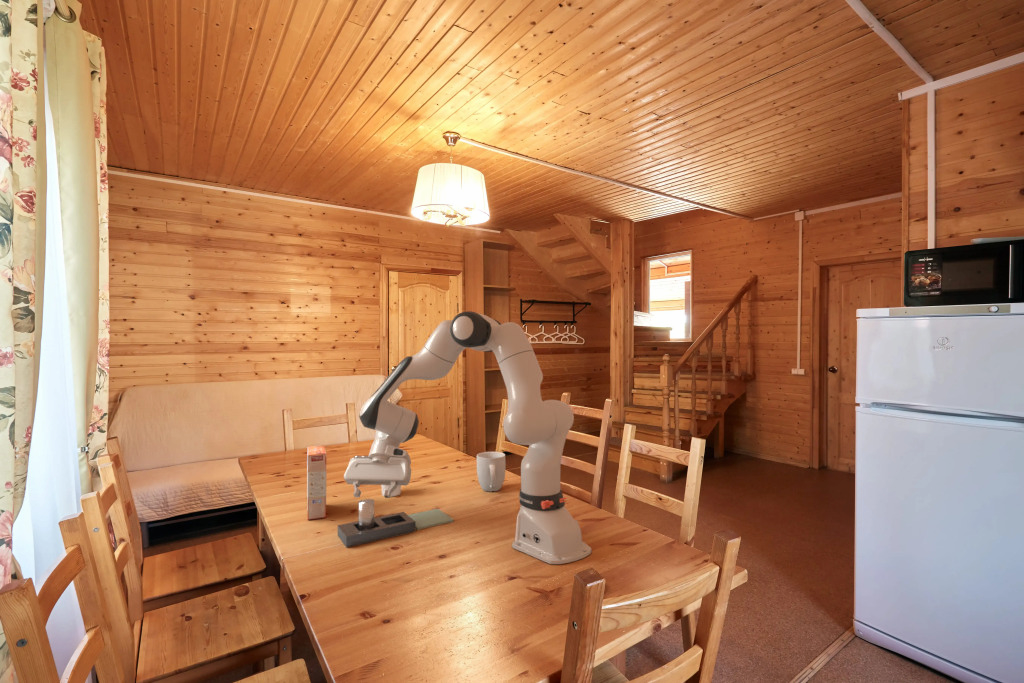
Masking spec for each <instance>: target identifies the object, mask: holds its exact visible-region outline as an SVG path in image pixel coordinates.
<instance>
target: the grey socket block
mask: <svg viewBox="0 0 1024 683" xmlns="http://www.w3.org/2000/svg"><path fill="white" fill-rule="evenodd" d="M408 515H409V514H407V513H406V512H405V511H400V512H395V513H390V514H386V515H381V516H376V517H375V516H374V528H371V529H367V530H362V531H359V520H356V521H351V522H347V523H343V524H337V537H338V538H339V540H340V541H341V542H342V544H343V545H344V546H345V548H351V547H355V546H359V545H364V544H368V543H372V542H377V541H380V540H385V539H389V538H395V537H399V536H402V535H408V534H412V533H416V530H417V529H416V524H415V521H414V520H413V519H412V518H411V517H409V516H408Z"/></svg>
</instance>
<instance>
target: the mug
mask: <svg viewBox="0 0 1024 683" xmlns="http://www.w3.org/2000/svg"><path fill="white" fill-rule="evenodd" d="M506 463H507V462H506V454H505V453H504V452H500V451H483V452H480V453H477V454H476V473H477V474H476V475H477V480H478V484H479V485H480V487H481V489H482V490H483V491H484V492H492V491H494V492H497V491H500V489H501V488H502V487H503V485H504V481H505V478H506Z"/></svg>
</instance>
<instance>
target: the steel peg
mask: <svg viewBox="0 0 1024 683" xmlns="http://www.w3.org/2000/svg"><path fill="white" fill-rule="evenodd" d="M357 511H358V512H357V513H358V521H359V531H362V530H367V529H371V528H374V518H375V500H374V499H372V498H371V499H370V498H365V499H360V500H359V501H358V510H357Z"/></svg>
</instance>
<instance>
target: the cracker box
mask: <svg viewBox="0 0 1024 683" xmlns="http://www.w3.org/2000/svg"><path fill="white" fill-rule="evenodd" d="M306 452H307V456H306V458H307V459H306V513H307V514H306V515H307V520H317V519H324V518H325V519H326V518H327V450H326V446H325V445H313V446H312V445H311V446H307V451H306Z"/></svg>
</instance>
